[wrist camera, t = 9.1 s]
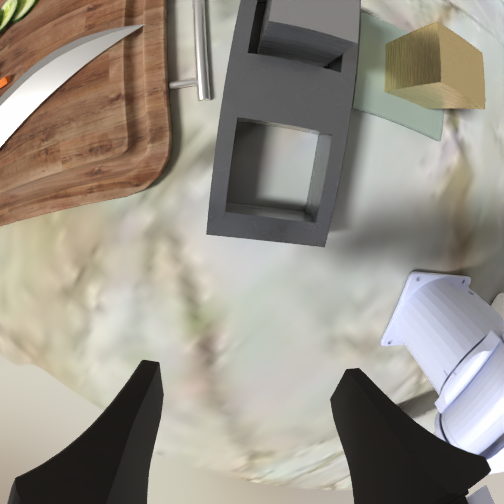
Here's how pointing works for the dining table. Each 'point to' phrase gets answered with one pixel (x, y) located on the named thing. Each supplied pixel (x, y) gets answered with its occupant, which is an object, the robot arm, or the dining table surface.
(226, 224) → the gray slotted board
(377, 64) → the mat
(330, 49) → the gray metal block
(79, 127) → the chopping board
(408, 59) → the tan wooden block
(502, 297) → the bust
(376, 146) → the dining table surface
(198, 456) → the dining table surface
